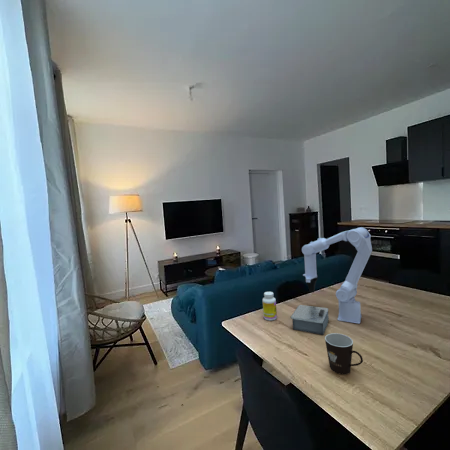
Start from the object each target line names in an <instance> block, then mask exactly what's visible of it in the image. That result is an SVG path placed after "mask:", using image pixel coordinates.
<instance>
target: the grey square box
mask: <svg viewBox="0 0 450 450" xmlns="http://www.w3.org/2000/svg"><path fill="white" fill-rule="evenodd" d="M291 320H292V321H291V322H292V330H295V331H299V332H303V333H309V334H310V333H311V334H316V335H319V336H324V335H325V333H326V329H327V326H328V325H329V322H330V321H329V311H328V312H327V314H326V317H325V319H324V321H323V323H316V322H310V321H303V320H296V319H291Z"/></svg>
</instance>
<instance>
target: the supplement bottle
mask: <svg viewBox="0 0 450 450" xmlns="http://www.w3.org/2000/svg"><path fill="white" fill-rule="evenodd" d="M263 296H264V297H262V310H263V311H262V314H263V315H262V316H263V318H264V320H265V321H275V320H276V319H277V318H278V314H277V313H278V311H277V301H276V297H274V292H273V291H265V292H264V293H263Z"/></svg>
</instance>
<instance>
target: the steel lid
mask: <svg viewBox="0 0 450 450" xmlns="http://www.w3.org/2000/svg"><path fill="white" fill-rule="evenodd" d="M327 312H328V313H329V307H328V308H327V307H321V306H320V307H319V306H313V305H312V306H311V305H304V304H299V305H297V307H296V309H295V310H294V311H293V313H292V314H291V316H290V319H291V320H292V319H296V320H303V321H310V322H316V323H323V321H324V319H325V317H326V314H327Z"/></svg>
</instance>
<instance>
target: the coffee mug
mask: <svg viewBox="0 0 450 450" xmlns="http://www.w3.org/2000/svg"><path fill="white" fill-rule="evenodd" d="M324 341H325V346H326V351H327V358H328V365H329V369H330V370H331V371H332V372H334V373H335V374H338V375H348V374H350V373H351V369H352V367H358V366H360V365H362V364H363V362H364V359H363V356H362V355H361V354H360V352H359V351H357V350H353V349H354V348H353V347H354V340H353V339H352V338H351V337H350V336H349V335H346V334H343V333H339V332H338V333H337V332H334V333H328V334H326V335H325V336H324ZM353 354H356V355H358V357H359V358H360V361H359V362H358V363H352V359H353V358H352V357H353Z"/></svg>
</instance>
